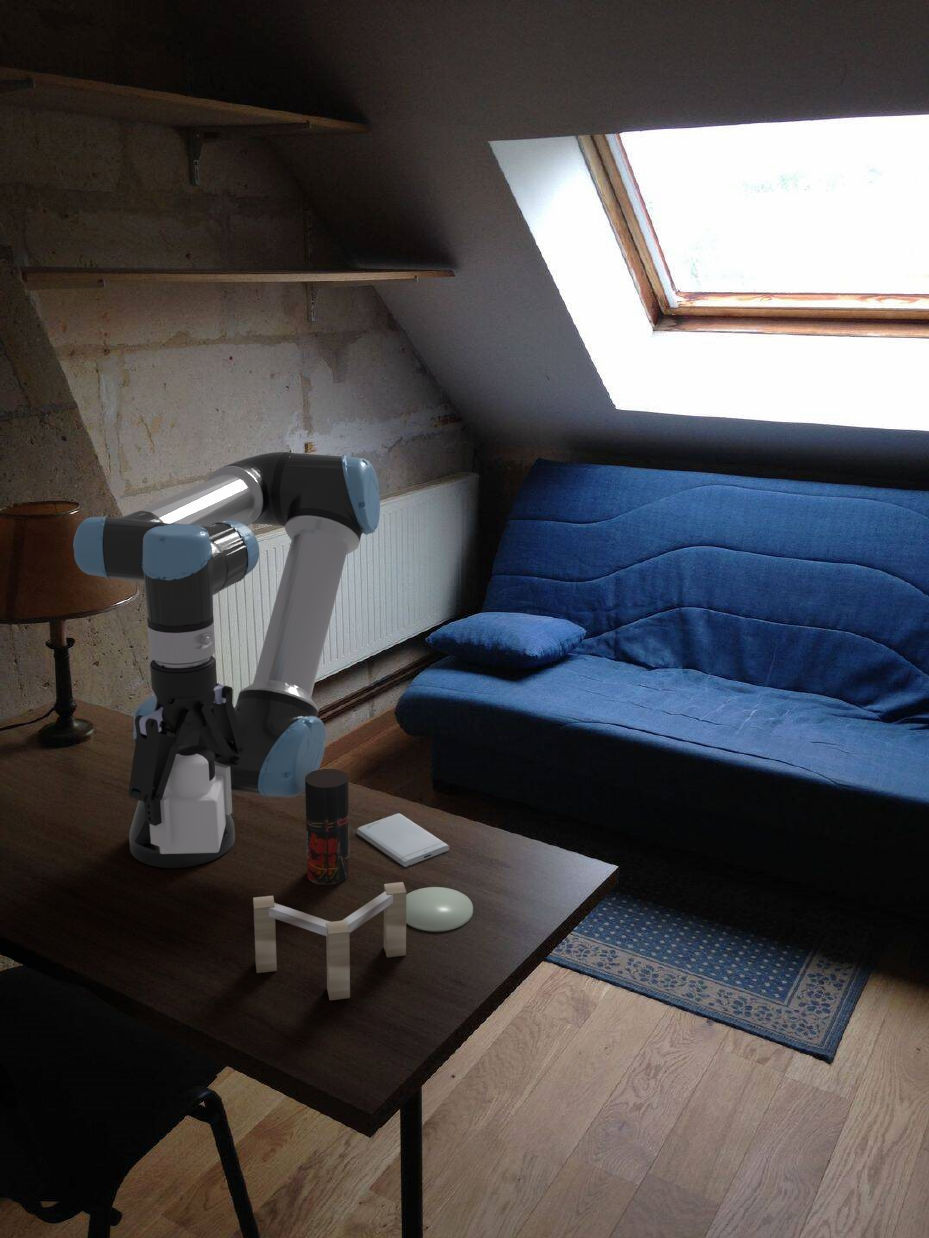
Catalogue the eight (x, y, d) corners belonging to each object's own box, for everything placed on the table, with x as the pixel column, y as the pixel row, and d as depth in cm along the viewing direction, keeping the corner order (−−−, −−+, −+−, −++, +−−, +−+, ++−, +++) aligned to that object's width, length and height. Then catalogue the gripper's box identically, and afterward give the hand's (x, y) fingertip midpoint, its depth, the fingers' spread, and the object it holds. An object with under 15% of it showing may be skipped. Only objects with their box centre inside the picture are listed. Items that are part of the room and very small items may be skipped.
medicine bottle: (169, 826, 139) (163, 739, 136) (226, 825, 140) (222, 738, 136) (159, 855, 133) (152, 764, 129) (219, 853, 133) (214, 763, 129)
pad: (392, 894, 151) (392, 891, 151) (463, 886, 153) (463, 883, 153) (405, 935, 142) (406, 932, 141) (480, 926, 144) (481, 923, 144)
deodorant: (300, 870, 156) (297, 774, 152) (337, 859, 159) (336, 765, 155) (318, 889, 152) (317, 791, 147) (356, 877, 155) (356, 781, 150)
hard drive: (356, 827, 167) (404, 860, 158) (400, 812, 172) (449, 843, 163) (356, 837, 167) (404, 870, 158) (400, 821, 172) (449, 853, 163)
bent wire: (255, 961, 136) (253, 897, 133) (402, 944, 140) (402, 881, 137) (260, 1009, 127) (257, 941, 124) (416, 989, 131) (417, 923, 128)
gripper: (132, 693, 118) (145, 876, 125) (270, 638, 136) (275, 800, 143) (84, 678, 122) (100, 857, 128) (225, 627, 140) (232, 786, 147)
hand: (192, 827), depth 136 cm, fingers closed on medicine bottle, 10 cm apart
